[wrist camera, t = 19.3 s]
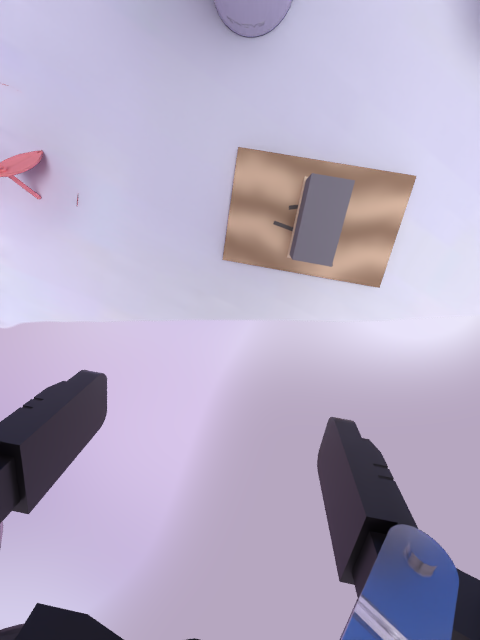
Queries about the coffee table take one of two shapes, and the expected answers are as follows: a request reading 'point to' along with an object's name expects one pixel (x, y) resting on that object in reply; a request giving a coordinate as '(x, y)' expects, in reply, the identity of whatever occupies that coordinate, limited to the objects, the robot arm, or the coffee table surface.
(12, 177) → the figurine
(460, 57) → the coffee table surface
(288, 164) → the oak board
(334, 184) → the sanding block
